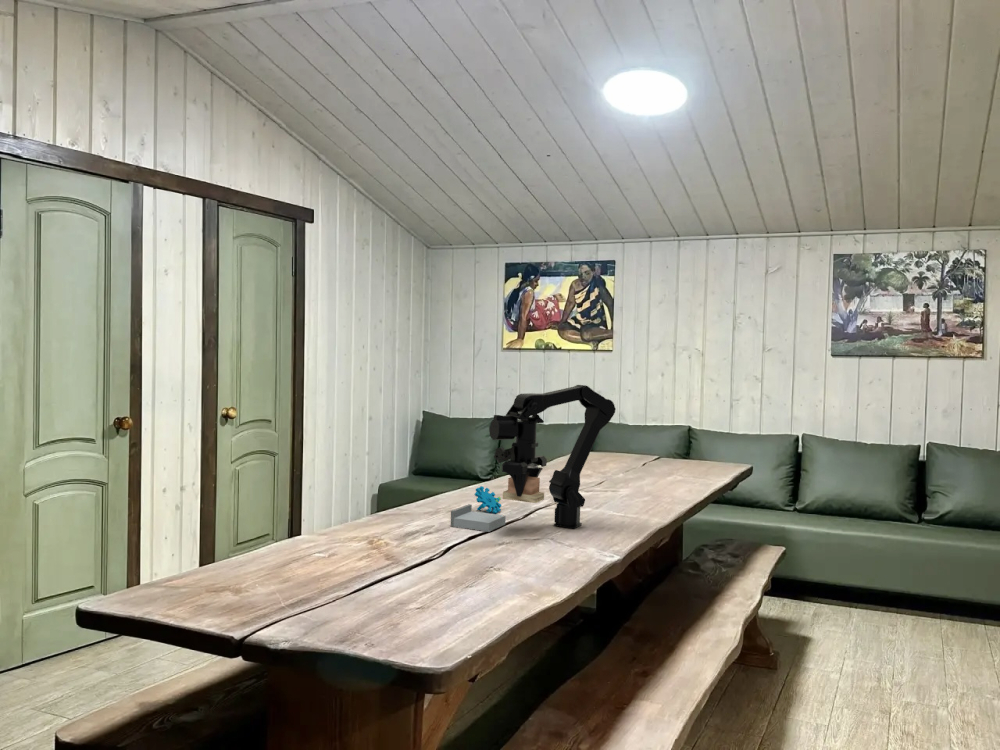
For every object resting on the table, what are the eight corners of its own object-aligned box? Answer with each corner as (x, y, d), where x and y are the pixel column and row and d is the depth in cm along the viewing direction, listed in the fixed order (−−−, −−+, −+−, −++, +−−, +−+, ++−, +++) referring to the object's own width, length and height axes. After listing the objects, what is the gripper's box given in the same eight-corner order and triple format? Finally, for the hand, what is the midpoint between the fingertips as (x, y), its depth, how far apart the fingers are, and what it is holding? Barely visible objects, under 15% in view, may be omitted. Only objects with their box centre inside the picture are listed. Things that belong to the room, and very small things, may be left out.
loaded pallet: (543, 499, 224) (544, 478, 223) (535, 503, 218) (536, 481, 218) (511, 495, 228) (512, 474, 228) (502, 498, 222) (503, 477, 222)
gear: (486, 511, 238) (472, 484, 244) (474, 523, 241) (460, 496, 246) (510, 511, 247) (495, 485, 252) (498, 522, 249) (484, 496, 254)
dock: (505, 524, 230) (505, 509, 229) (488, 531, 220) (489, 516, 219) (468, 519, 235) (468, 504, 234) (450, 526, 225) (450, 510, 224)
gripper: (512, 433, 234) (510, 486, 235) (485, 439, 217) (483, 496, 218) (548, 436, 230) (546, 490, 230) (522, 443, 213) (520, 501, 213)
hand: (523, 494), depth 223 cm, fingers closed on loaded pallet, 6 cm apart
